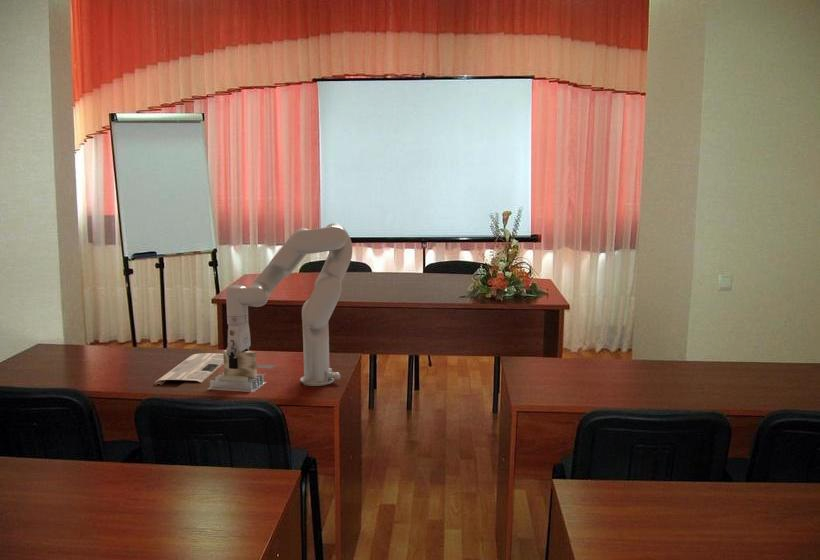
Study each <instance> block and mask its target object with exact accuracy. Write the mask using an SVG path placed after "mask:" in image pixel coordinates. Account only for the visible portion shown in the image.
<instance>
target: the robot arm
mask: <svg viewBox="0 0 820 560" xmlns="http://www.w3.org/2000/svg"><path fill="white" fill-rule="evenodd" d="M324 252H328V254H327V257H326V259H325V261H324V264H323V266H322V268H321V271H320V272H319V274H318V276H317V277H316V279H315V280H314V289H313V290H312V293H311V295H310V297H309V299H307V300H306V301H305V302H304V303H303V305H302V307H301V320H302V322H301V323H302V347H303V348H302V349H303V376H301V377H300V378H299V379H300V381H299V382H300V384H302V385H304V386H309V387H322V386H327V385H330V384H333V383H334V382H335V380H340V379H341V374H340V372H339V371H338V372H337V371H336V372H335V371H333V368H331V367H330V343H329V342H330V336H329V335H330V332H329V320H330V319H331V317H332V315H333V312H334V311H335V308H336V306H337V304H338V302H339V299H340V297H341V295H342V291H343V289H342V288H343V287H342V284H343V283H342V282H343V280H344V278H345V275H346V273H347V271H348V268H349V266H350V263H351V261H352V257H353V242H352V239H351V237H350V235H349V233H348V231H347V230H346V229H345V227H344V226H343V225H341V224H340V223H335V222H333V223H330V224H328V225H326V227H321V228H313V229H308V228H305V227H301V228H300V227H299V228H297V229H296V230H295V231H293V233H292V234H291V236H290V237H289V238H288V239H287V240H286V241H285V242H284V244H283V245H282V247H281V248H280V249H279V250H278V251H277V253H276V254H275V255H274V256H273V257H272V259H271V260H270V261H269V263H268V264H267V265H266V266H265V268H264V269H263V270H262V272H261V273H260V274H259V276H257V278H256V279H255V280H254V281H253V282H252V284H251V285H250V286H249V287H247V286H245V285H243V284H242V285H241V284H235V285H234V284H233V285H229V286H227V287H226V291H225V298H226V321H227V322H226V323H227V326H228V327H227V347H226V349H225V350H227V355H228V358H229V368H230V369H237V368H238V358H236V357H237V353H238V351H239V352H242V351H250V347H251V330H250V325H249V307H255V308H258V307H263V306H265V305H266V304H267V302H268V301H269V299H270V298H269V297H270V295H271V294H272V293H273V291H274V289H275V288H276V287H277V286H278V285H279V284H280V283H281V282H282V280H284V279H285V278H286V277H288V276H289V275H291V274H292V273H293V272H294V271H295V269H296V268H297V267H298V265H299V264H301V262H302V261H303V259H304V258H305V257H306V256H307V255H311V254H318V253H324ZM233 352H235V354H233Z"/></svg>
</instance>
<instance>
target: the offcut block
mask: <svg viewBox="0 0 820 560" xmlns="http://www.w3.org/2000/svg"><path fill="white" fill-rule="evenodd" d="M221 375H222V374H221ZM219 381H233V382H248V377H243V376H226V375H222V376H220V377H219Z"/></svg>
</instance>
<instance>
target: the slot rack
mask: <svg viewBox="0 0 820 560" xmlns="http://www.w3.org/2000/svg"><path fill="white" fill-rule="evenodd" d="M261 374H262V373H261ZM261 374H258V373H257V377H248V382H233V381H219V377H220V376H222V375H224V371H223V372H222V373H221V374H218V375H217V376H215V378H214V379H211V380H209V387H208V388H207V390H215V391H216V390H217V391H230V392H244V393H245V392H246V393H254V392H257V390H259V389H260V388H261V387H262V386H264V385H265V384H266V383H268V381H264V376H263V375H261ZM226 376H228V375H226ZM243 377H245V376H243Z"/></svg>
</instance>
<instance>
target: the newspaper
mask: <svg viewBox="0 0 820 560" xmlns="http://www.w3.org/2000/svg"><path fill="white" fill-rule="evenodd" d="M221 367H224V358H223V353H213V352H210V353H209V352H207V353H205V352H204V353H203V352H202V353H194V354H191V355H190V356H189V357H187V358H186V359H184V360H182V362H180V363H179V364H177V365H176V366H175V367H173V368H171V370H169V371H168V372H167V373H165V374H164V375H163V376H161V377H160V378H159V379H157V380H156V381H155V382H154V384H155V385H156V386H158V385H157V384H160V385H163V384H164V383H163V382H164V381H165V383H166V382H167V381H191V382H192V381H194V382H199V383H203V382H204V381H205V380H206V379H208V378H209V377H210V376H211V375H212V374H214V372H216V371H217V370H218V369H220V368H221ZM166 380H167V381H166ZM162 383H163V384H162Z"/></svg>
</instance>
